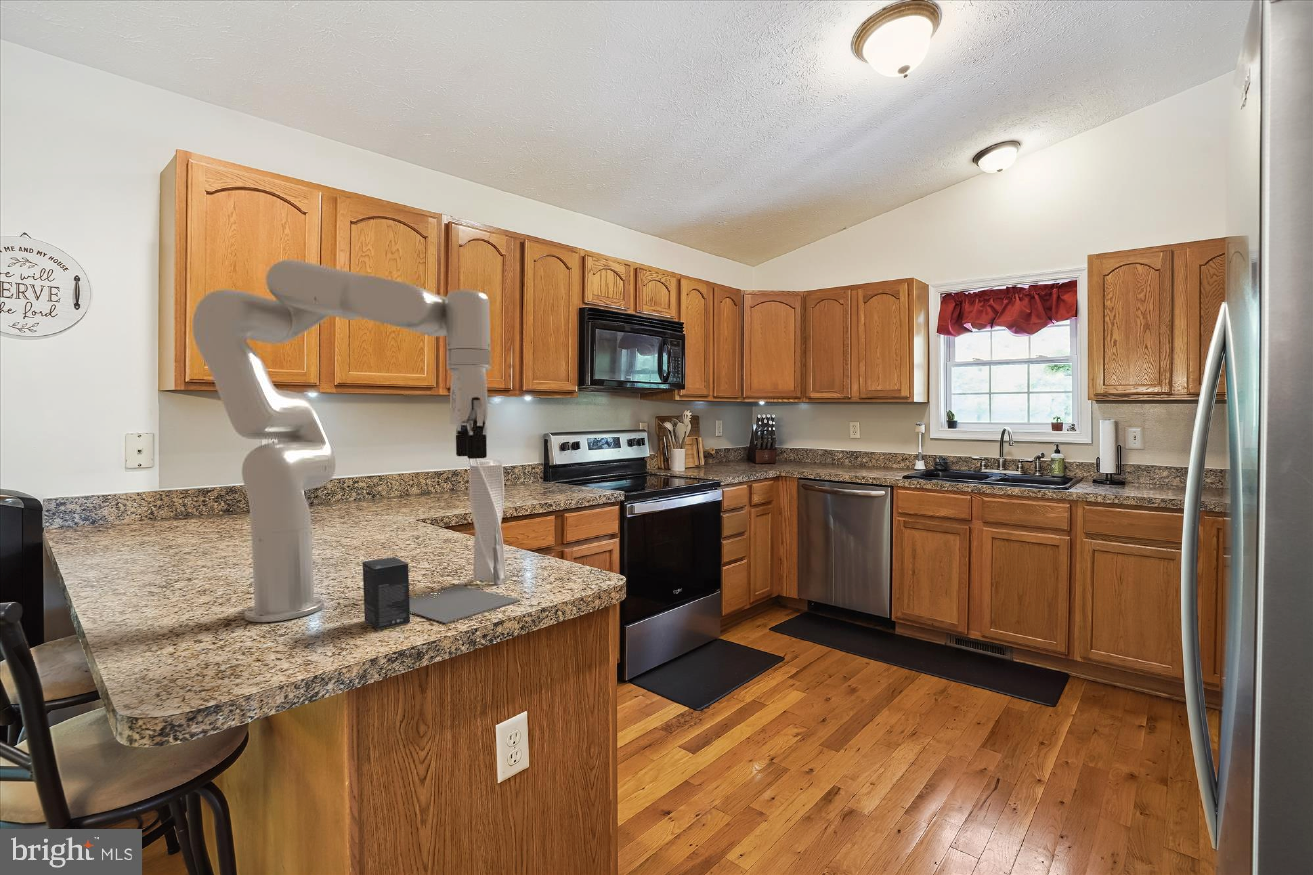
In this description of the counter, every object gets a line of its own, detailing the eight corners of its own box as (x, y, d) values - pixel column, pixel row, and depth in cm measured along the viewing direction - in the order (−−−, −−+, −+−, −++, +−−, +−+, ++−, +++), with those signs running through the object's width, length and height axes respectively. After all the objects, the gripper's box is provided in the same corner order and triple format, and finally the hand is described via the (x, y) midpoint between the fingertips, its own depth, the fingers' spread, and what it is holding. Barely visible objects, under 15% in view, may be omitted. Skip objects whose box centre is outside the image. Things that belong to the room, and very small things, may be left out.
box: (411, 623, 105) (408, 562, 105) (376, 631, 102) (373, 568, 102) (397, 613, 111) (395, 555, 111) (363, 620, 108) (361, 560, 108)
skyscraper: (462, 585, 131) (458, 455, 130) (479, 576, 139) (475, 453, 138) (500, 586, 129) (495, 454, 129) (515, 576, 137) (510, 452, 137)
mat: (385, 605, 117) (385, 603, 117) (459, 586, 129) (459, 585, 129) (445, 624, 104) (445, 622, 104) (520, 601, 117) (520, 599, 117)
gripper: (438, 365, 115) (440, 456, 116) (456, 355, 100) (458, 460, 100) (479, 366, 119) (481, 454, 119) (502, 357, 104) (504, 458, 104)
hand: (471, 457), depth 110 cm, fingers open, 9 cm apart
